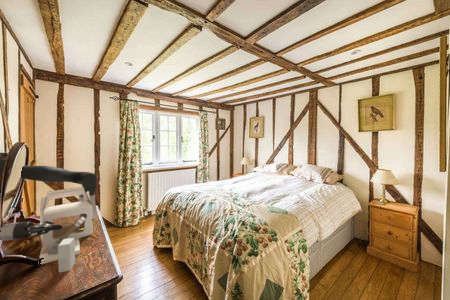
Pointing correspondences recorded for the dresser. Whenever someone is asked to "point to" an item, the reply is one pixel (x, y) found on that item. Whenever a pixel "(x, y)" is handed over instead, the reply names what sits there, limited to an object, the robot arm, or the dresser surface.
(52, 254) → the switch panel
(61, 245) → the skincare box
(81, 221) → the breaker lever
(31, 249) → the dresser surface
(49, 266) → the dresser surface
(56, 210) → the gable box
